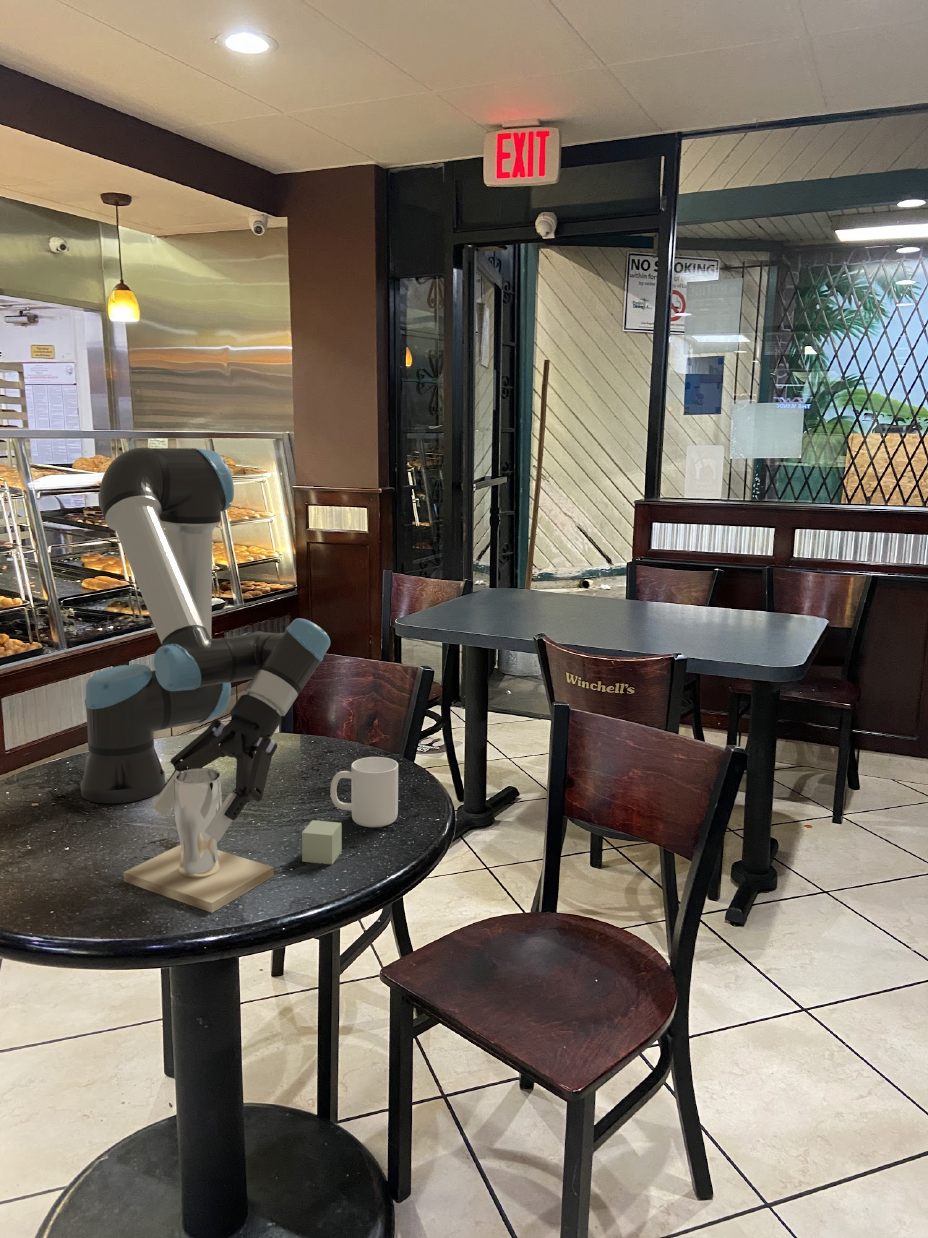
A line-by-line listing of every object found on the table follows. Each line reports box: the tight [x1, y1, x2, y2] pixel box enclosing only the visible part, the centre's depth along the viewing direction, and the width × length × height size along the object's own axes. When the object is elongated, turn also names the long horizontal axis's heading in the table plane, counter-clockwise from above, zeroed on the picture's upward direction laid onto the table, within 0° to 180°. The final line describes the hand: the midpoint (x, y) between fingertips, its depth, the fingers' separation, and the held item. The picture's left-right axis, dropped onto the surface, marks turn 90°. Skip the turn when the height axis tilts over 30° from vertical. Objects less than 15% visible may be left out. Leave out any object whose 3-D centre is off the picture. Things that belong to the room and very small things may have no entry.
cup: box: [330, 756, 399, 828], centre depth 158 cm, size 8×12×10 cm
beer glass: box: [173, 767, 223, 878], centre depth 134 cm, size 7×7×15 cm
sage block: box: [301, 819, 343, 865], centre depth 143 cm, size 5×5×5 cm
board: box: [123, 844, 275, 914], centre depth 135 cm, size 18×13×2 cm
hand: (184, 824), depth 132 cm, fingers open, 13 cm apart
